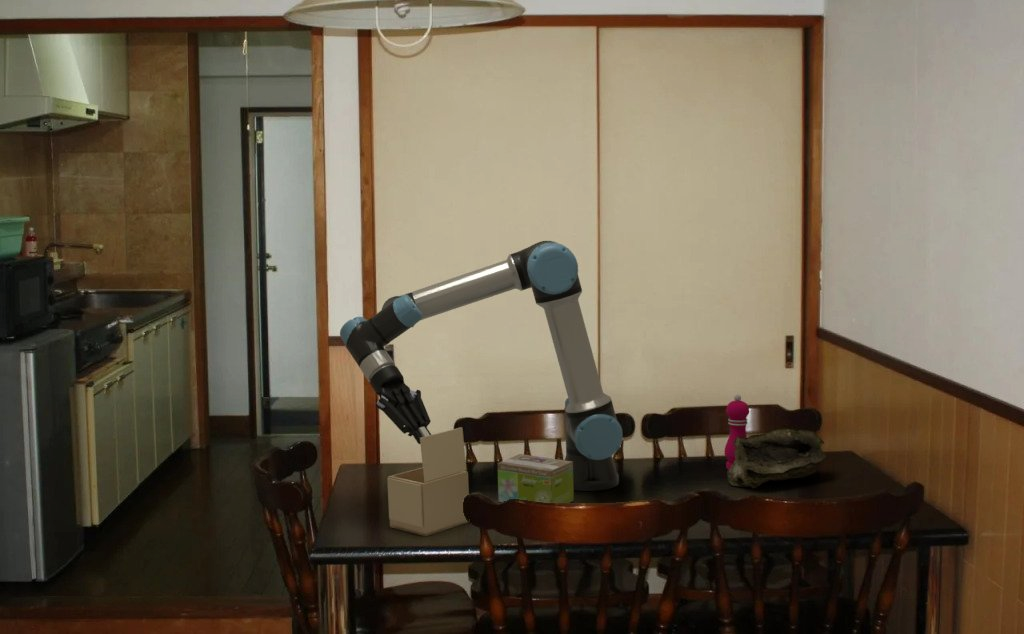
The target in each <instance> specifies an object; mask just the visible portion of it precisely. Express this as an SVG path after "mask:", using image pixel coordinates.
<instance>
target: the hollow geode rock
mask: <svg viewBox="0 0 1024 634" xmlns="http://www.w3.org/2000/svg"><path fill="white" fill-rule="evenodd" d="M823 444H825V442H824V440H823V439H822V438H821V437H820V436H819V434H817V433H816V432H815V431H813V430H810V429H809V430H808V429H803V428H802V429H795V428H791V427H780V428H779V427H777V428H774V429H771V430H769V431H766V432H765V433H761V434H753V435H749V436H747V438H746V437H742V436H739V437H737V438H736V439H735V441H734V443H733V445H734V446H735V447H736V448H735V451H734V454H735V457H736V460H735V461H734V463H733V464H732V466H731V467H730V468H729V470H728V469H727V471H726V474H727V480H728V482H729V484H730V485H732V486H735V487H742V488H745V487H746V488H747V487H748V488H752V489H755V488H757V487H759V486H760V485H762V484H763V483H767V482H769V481H772V482H773V481H774V482H778V481H786V480H790V479H797V478H798V479H802V478H806V477H808V476H810V475H813V474H814V473H816V472H817V471H818V470H819V467H820V465H821V461H822V460H824V459H825V458H826V456H827V452H826V453H825V452H824V451H823V448H822V446H823Z"/></svg>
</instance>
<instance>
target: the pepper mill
mask: <svg viewBox="0 0 1024 634" xmlns="http://www.w3.org/2000/svg"><path fill="white" fill-rule="evenodd" d="M725 409H726V411H725V412H726V414H727V416H728V423H727V424H728V425H729V436H728V439H727V442H726V444H725V446H724V451H723V452H724V457H725V458H726V459H727V461H726V465H725V466H726V469H727V471H728V470H729V468H730V467H731V466H732V464H733V463H734V461H735V460H736V457H735V454H734V451H735V448H736V447H735V446H734V445H733V443H734V441H735V439H736V438H737V437H739V436H742V437H746V438H747V437H748V436H747V433H746V432H747V431H746V428H747V424H748V418H747V417H748V416H749V414H750V407H749V404H748V403H746V402H745V401H743V400H742V397H741V395H740V394H736V395H734V400H732V401H730V402H729V403H728V404H727V406H726V408H725Z"/></svg>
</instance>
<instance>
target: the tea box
mask: <svg viewBox="0 0 1024 634" xmlns="http://www.w3.org/2000/svg"><path fill="white" fill-rule="evenodd" d="M574 491H575V490H573V461H565V459H559V458H558V459H557V458H551V457H544V456H537V455H530V454H522V453H519V454H517V455H515V456H512V457H510V458H508V459H506V460H502V461H500V462H497V496H498V504H499V503H502V502H505V501H507V500H509V499H519V500H528V501H535V502H543V503H574V504H575V502H574V500H575V499H574V496H575V493H574Z"/></svg>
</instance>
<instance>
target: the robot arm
mask: <svg viewBox="0 0 1024 634" xmlns="http://www.w3.org/2000/svg"><path fill="white" fill-rule="evenodd" d="M515 289H516V290H519V291H521V292H522V291H524V290H527V289H531V290H532V293H533V297H534V298H533V299H534V300H535V304H536V305H538V306H539V307H541V308H542V309H543V310H544V315H545V318H546V321H547V325H548V328H549V329H548V330H549V332H550V336H551V339H552V343H553V346H554V350H555V353H556V354H555V355H556V358H557V361H558V365H559V369H560V371H561V377H562V380H563V383H564V386H565V387H564V388H565V391H566V394H567V398H566V399H565V401H564V417H565V419H564V420H565V421H564V422H565V424H564V425H565V457H564V460H565V461H573V490H574V491H577V492H597V491H606V490H610V489H613V488H616V487H617V486H618V485H619V484H620V483H619V482H620V480H619V477H620V476H619V473H618V471H617V469H616V464H615V463H614V462H615V460H614V459H613V455H614V454H616V453H617V452H618V451H619V449H620V447H621V446H622V443H623V435H624V434H623V428H622V425H621V424H620V422H619V421H618V418H617V416H616V415H617V414H616V412H615V408H614V404H613V400H612V397H611V396H610V395H607V394H606V393H604V390H603V387H602V384H601V383H602V382H601V380H600V377H599V376H600V375H599V373H598V369H597V364H596V361H595V357H594V354H593V350H592V346H591V342H590V338H589V334H588V331H587V327H586V324H585V320H584V317H583V313H582V309H581V305H580V302H579V298H580V296H581V294H582V293H583V289H582V285H581V281H580V278H579V263H578V261H577V258H576V256H575V254H574V253H573V252H572V251H571V250H570V249H569V248H568V247H567V246H565V245H564V244H561V243H558V242H556V241H553V240H541V241H539V242H536V243H534V244H532V245H530V246H527V247H526V248H524V249H521V250H519V251H516V252H513V253H511V254H508V256H507V258H506V259H505V260H502V261H499V262H497V263H494V264H490V265H487V266H484V267H482V268H479V269H475V270H473V271H469V272H467V273H464V274H461V275H457V276H455V277H452V278H449V279H447V280H443V281H440V282H437V283H434V284H431V285H428V286H425V287H422V288H418V289H416V290H414V291H412V292H411V291H410V292H407V293H405V294H402V295H395V296H391V297H389V298H387V299H386V300H385V301H384V303H383V305H382V307H381V310H380V311H379V312H377V313H376V314H375V315H373V316H372V317H370V318H368V319H366V318H364V317H363V316H356V317H354V318H353V319H349V320H347V321H346V322H345V323H344V324H343V325H342V326H341V328H340V330H339V335H340V338H341V340H342V342H343V344H344V345H345V349H346V350H347V351H348V352H349V354H350V356H351V357H352V359H353V360H354V362H355V363H356V364H357V366H358V367H359V369H360V371H361V372H362V373H363V375H364V377H365V378H366V380H367V381H368V382H369V385H370V386H371V388H372V389H373V391H374V393H375V394H376V395H377V396H378V397H379V399H378V400H377V402H376V403H375V407H376V408H377V409H379V410H380V411H382V412H383V413H384V414H385V416H387V418H389V419H390V420H391V422H392V424H394V425H395V426H396V427H397V428H398V430H400V431H401V433H402V434H404V435H405V434H407V433H408V434H407V436H409V437H413V438H414V440H415V441H416V442H417V444H418V445H421V444H420V438H421V437H425V436H429V435H432V433H431V431H430V430H429V429H428V426H429V425H430V424H431V421H432V420H431V419H430V418H431V417H430V416H429V413H428V411H427V409H426V406H425V404H424V401H423V398H422V392H421V390H420V389H416V390H411V389H410V386H408V384H406V383H405V380H404V375H403V374H402V373H401V371H400V369H399V368H398V366H396V364H395V362H394V360H393V359H392V357H391V356H390V354H389V353H388V351H387V350H386V348H385V347H386V346H387V345H389V344H390V343H391V342H393V341H394V340H395V339H397V338H398V337H400V336H401V335H402V334H404V333H405V332H407V331H408V330H409V329H411V328H414V327H415V325H416V324H418V323H419V322H420V321H423V320H426V319H428V318H432V317H435V316H437V315H441V314H444V313H447V312H450V311H453V310H456V309H459V308H462V307H466V306H467V305H471V304H474V303H477V302H480V301H482V300H483V301H484V300H485V299H488V298H491V297H494V296H497V295H500V294H504V293H506V292H510V291H512V290H515Z"/></svg>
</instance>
